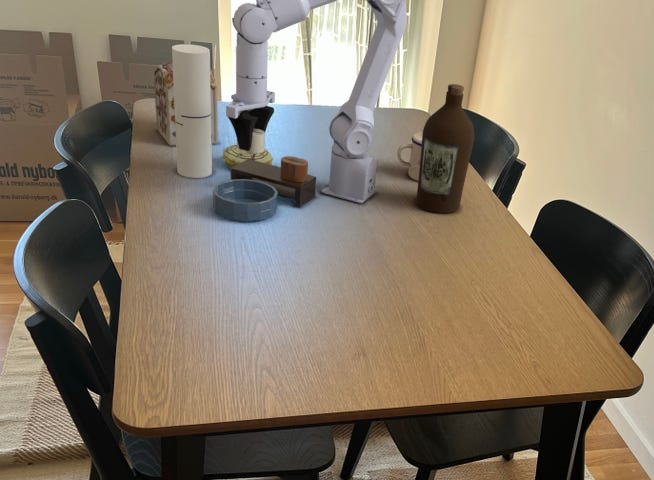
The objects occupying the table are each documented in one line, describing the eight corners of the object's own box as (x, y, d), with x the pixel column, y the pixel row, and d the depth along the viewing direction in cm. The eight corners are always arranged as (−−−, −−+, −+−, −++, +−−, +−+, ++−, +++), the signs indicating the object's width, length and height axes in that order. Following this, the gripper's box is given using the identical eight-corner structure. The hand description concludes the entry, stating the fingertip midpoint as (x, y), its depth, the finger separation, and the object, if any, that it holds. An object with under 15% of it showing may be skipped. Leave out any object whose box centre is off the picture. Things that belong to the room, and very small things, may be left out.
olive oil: (423, 191, 167) (440, 75, 154) (468, 203, 165) (489, 86, 151) (405, 206, 159) (421, 85, 145) (452, 219, 156) (472, 97, 142)
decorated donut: (254, 179, 162) (254, 162, 160) (213, 166, 165) (213, 149, 163) (280, 166, 170) (281, 149, 168) (241, 154, 173) (241, 138, 171)
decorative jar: (156, 130, 180) (151, 50, 170) (204, 128, 185) (202, 51, 175) (168, 147, 171) (164, 64, 161) (219, 144, 176) (217, 65, 166)
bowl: (287, 207, 151) (288, 189, 149) (256, 228, 141) (257, 209, 139) (235, 193, 154) (234, 174, 152) (201, 212, 144) (200, 193, 142)
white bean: (268, 149, 149) (268, 131, 147) (257, 154, 146) (258, 136, 144) (243, 143, 150) (243, 124, 148) (232, 148, 147) (232, 129, 145)
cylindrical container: (203, 180, 158) (200, 55, 144) (171, 173, 158) (165, 49, 145) (217, 169, 164) (215, 48, 150) (186, 163, 164) (181, 42, 150)
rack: (315, 197, 157) (316, 176, 155) (299, 208, 152) (300, 186, 149) (248, 179, 161) (248, 158, 159) (230, 188, 156) (230, 168, 153)
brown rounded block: (310, 178, 154) (311, 160, 152) (301, 183, 151) (302, 166, 149) (286, 171, 155) (286, 154, 153) (276, 177, 152) (277, 159, 150)
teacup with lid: (442, 171, 180) (449, 122, 173) (448, 185, 172) (456, 135, 166) (392, 167, 178) (398, 118, 171) (397, 181, 170) (403, 130, 164)
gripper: (253, 64, 147) (252, 132, 155) (211, 77, 136) (212, 151, 143) (285, 71, 145) (282, 140, 153) (245, 85, 134) (244, 159, 141)
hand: (250, 146), depth 148 cm, fingers closed on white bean, 4 cm apart
